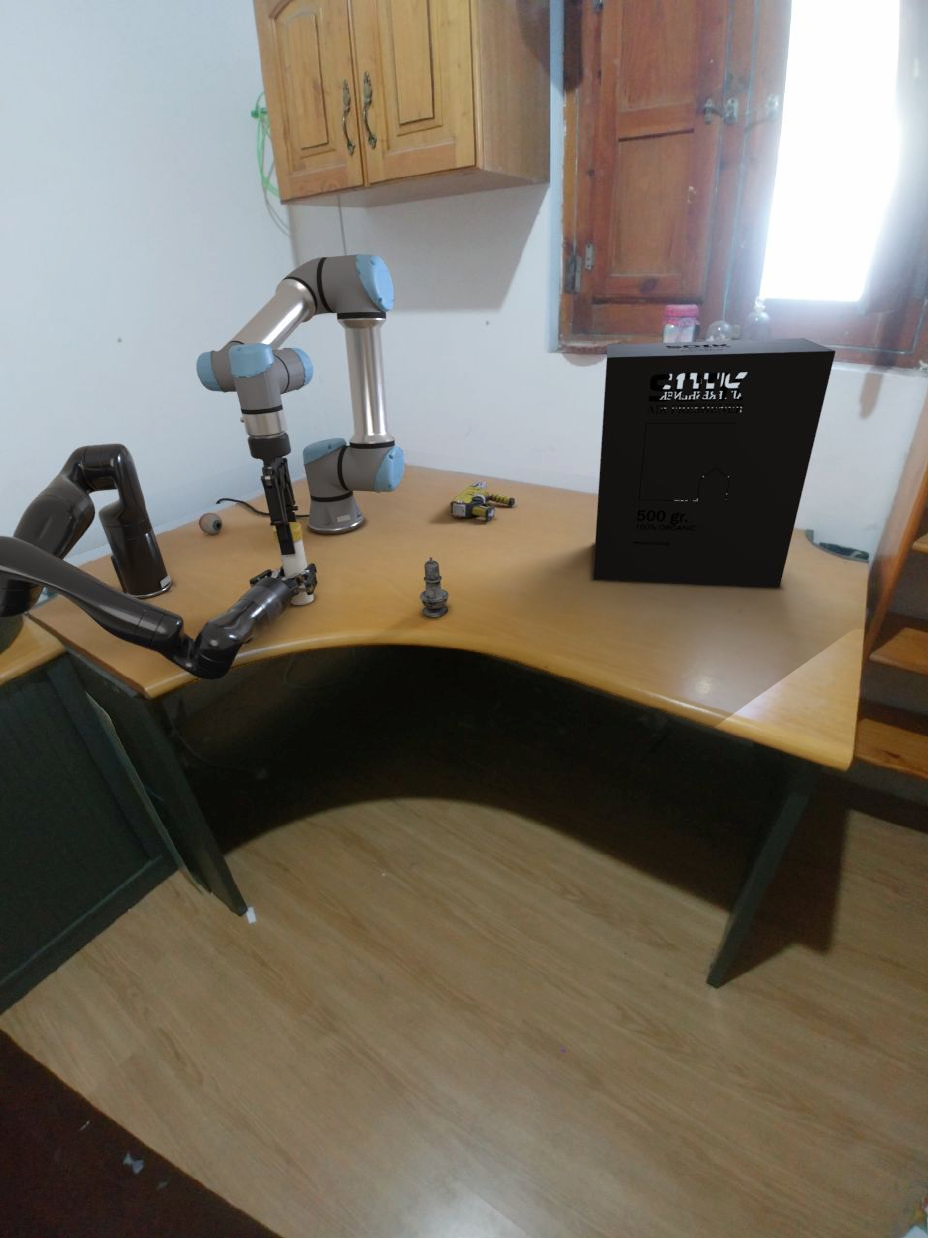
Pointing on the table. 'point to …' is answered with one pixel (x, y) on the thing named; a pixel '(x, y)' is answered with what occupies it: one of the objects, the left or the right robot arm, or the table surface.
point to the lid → (292, 531)
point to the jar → (296, 570)
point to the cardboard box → (706, 459)
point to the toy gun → (477, 502)
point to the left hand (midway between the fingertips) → (301, 566)
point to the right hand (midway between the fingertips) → (291, 547)
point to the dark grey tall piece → (433, 591)
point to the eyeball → (210, 523)
